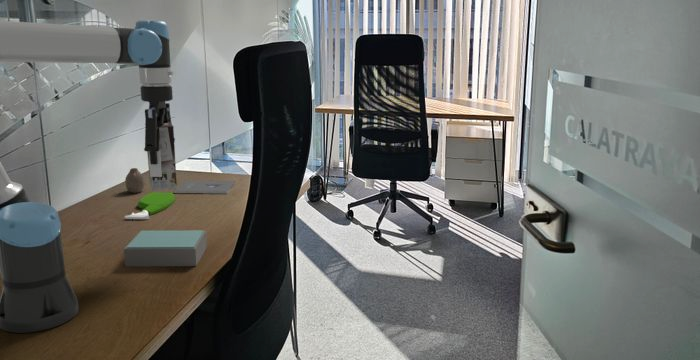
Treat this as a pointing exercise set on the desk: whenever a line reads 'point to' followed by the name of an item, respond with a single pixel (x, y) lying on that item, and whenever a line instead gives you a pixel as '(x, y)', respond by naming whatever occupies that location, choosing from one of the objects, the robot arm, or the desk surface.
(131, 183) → the vase
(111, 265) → the desk surface
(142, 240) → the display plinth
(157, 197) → the spray bottle
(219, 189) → the play button award
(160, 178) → the coffee box
